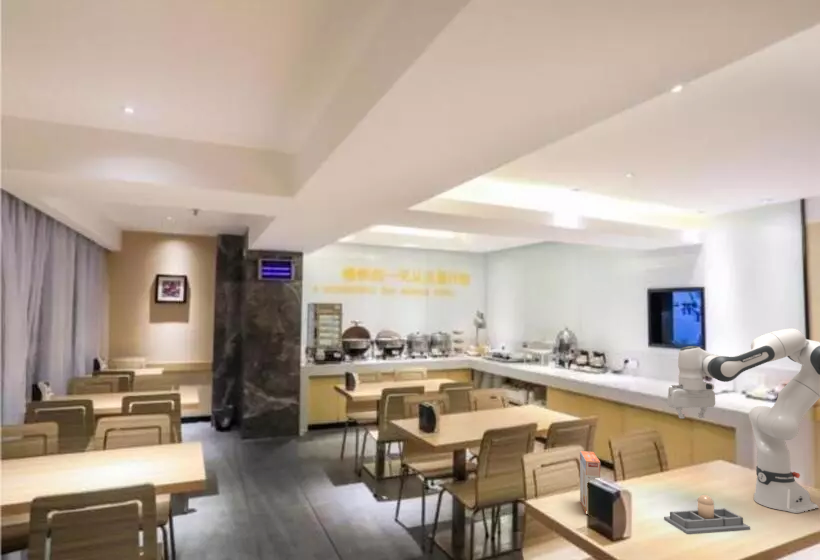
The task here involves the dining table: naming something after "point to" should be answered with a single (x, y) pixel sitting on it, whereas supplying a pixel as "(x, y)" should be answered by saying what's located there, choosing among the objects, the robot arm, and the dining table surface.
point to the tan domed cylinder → (705, 507)
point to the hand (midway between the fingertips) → (691, 417)
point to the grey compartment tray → (706, 521)
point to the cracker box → (587, 473)
